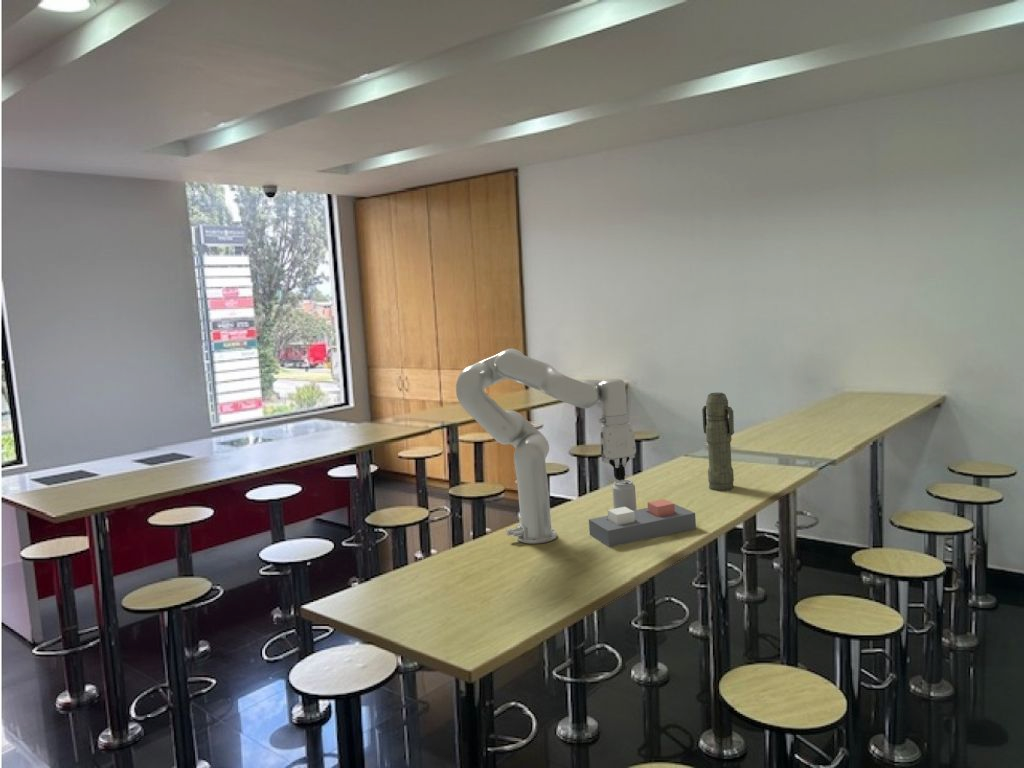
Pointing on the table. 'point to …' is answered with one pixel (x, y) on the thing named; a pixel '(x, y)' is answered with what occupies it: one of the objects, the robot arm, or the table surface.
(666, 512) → the red key
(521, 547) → the table surface
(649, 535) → the key panel
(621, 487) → the can
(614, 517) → the white key
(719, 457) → the thermos
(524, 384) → the robot arm
